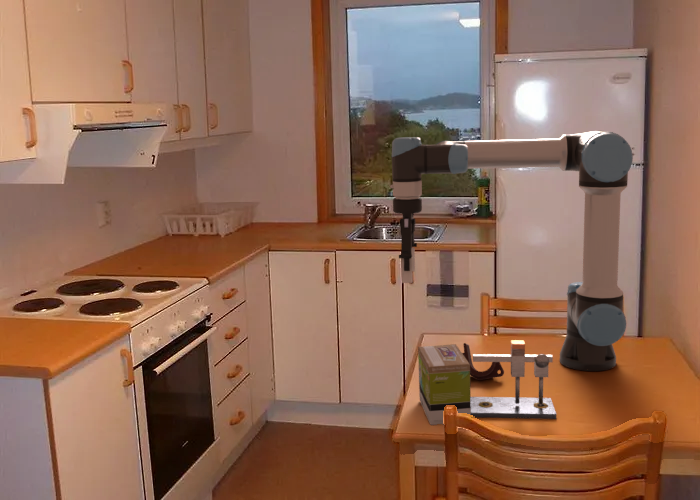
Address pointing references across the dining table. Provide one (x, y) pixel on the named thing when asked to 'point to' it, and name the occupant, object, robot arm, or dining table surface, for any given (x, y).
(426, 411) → the tea box
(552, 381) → the dining table surface
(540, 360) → the beam
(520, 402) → the board
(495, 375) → the bracket
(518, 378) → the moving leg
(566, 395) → the dining table surface
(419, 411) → the dining table surface
